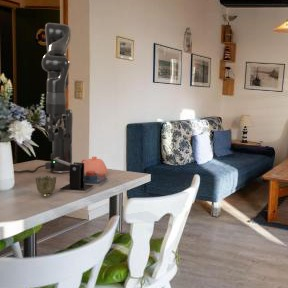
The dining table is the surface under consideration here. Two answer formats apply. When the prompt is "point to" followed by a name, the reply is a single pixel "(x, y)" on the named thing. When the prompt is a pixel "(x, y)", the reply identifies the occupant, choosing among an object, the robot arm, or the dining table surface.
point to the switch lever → (60, 161)
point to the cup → (45, 185)
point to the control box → (94, 179)
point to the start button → (90, 173)
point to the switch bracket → (76, 178)
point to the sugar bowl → (95, 166)
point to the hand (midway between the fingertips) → (56, 139)
